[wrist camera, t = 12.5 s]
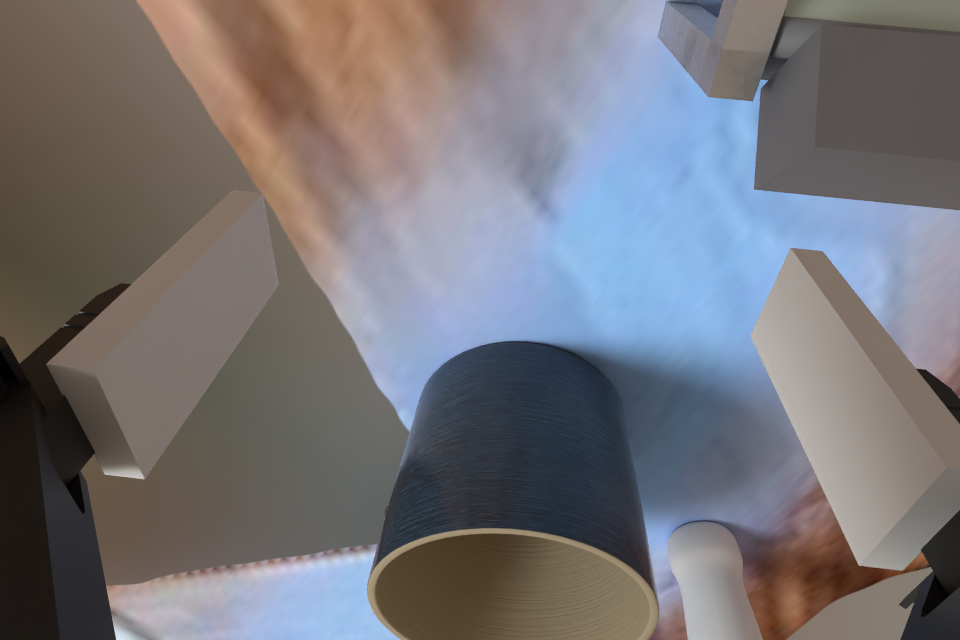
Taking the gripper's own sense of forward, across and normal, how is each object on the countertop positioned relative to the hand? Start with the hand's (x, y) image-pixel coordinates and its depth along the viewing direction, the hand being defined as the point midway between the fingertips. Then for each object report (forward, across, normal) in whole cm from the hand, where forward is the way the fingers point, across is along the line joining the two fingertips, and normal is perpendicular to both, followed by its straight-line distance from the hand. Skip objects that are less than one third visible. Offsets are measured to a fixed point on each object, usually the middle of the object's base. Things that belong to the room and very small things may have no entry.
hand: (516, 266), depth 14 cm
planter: (+29, +3, -36) cm, 46 cm away
